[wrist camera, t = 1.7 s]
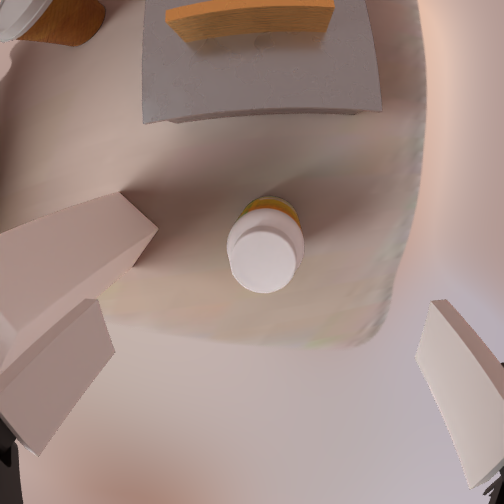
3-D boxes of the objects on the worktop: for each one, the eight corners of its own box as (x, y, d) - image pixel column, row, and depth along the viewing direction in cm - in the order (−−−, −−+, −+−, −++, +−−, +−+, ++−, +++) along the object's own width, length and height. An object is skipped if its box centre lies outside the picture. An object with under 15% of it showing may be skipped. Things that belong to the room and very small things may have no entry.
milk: (132, 267, 29) (-13, 409, 8) (94, 232, 28) (-66, 335, 7) (160, 227, 27) (-21, 371, 6) (118, 189, 26) (-80, 273, 5)
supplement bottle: (247, 188, 25) (227, 208, 16) (306, 204, 25) (320, 232, 16) (234, 244, 27) (210, 291, 18) (290, 258, 27) (293, 312, 18)
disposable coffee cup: (47, 59, 21) (-22, 46, 10) (76, -3, 18) (18, -31, 7) (96, 59, 21) (19, 34, 10) (130, -10, 18) (72, -55, 7)
